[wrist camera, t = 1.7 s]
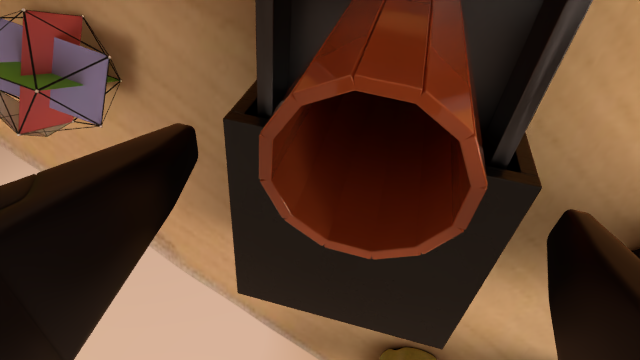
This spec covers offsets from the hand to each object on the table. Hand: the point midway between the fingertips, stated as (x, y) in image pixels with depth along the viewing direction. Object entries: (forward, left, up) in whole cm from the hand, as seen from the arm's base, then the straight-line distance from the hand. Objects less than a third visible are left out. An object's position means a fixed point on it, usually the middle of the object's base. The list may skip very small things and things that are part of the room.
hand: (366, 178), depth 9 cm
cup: (0, 0, -11) cm, 11 cm away
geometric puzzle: (+14, +14, -13) cm, 24 cm away
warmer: (-6, +10, -13) cm, 17 cm away
